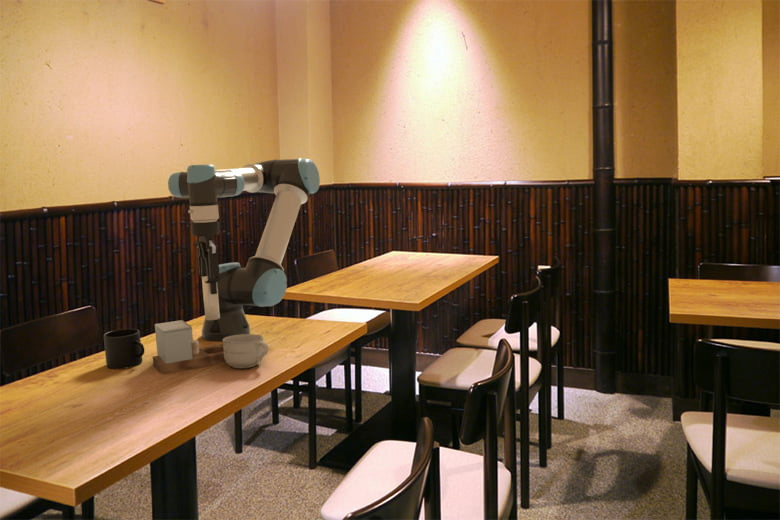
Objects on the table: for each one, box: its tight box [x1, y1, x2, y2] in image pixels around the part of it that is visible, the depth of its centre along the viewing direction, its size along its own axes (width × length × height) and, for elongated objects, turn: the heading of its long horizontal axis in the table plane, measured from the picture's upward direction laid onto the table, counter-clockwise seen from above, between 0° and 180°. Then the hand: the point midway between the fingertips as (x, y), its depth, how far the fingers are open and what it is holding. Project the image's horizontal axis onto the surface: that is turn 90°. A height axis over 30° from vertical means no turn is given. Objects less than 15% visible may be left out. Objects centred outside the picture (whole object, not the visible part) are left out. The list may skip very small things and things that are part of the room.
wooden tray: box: [152, 339, 227, 375], centre depth 187 cm, size 20×10×6 cm, turn 121°
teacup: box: [222, 333, 269, 369], centre depth 182 cm, size 14×11×8 cm
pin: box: [201, 276, 220, 320], centre depth 188 cm, size 4×4×12 cm
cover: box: [154, 319, 194, 364], centre depth 184 cm, size 8×10×9 cm
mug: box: [103, 328, 145, 370], centre depth 188 cm, size 9×12×9 cm
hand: (211, 303), depth 189 cm, fingers closed on pin, 4 cm apart
